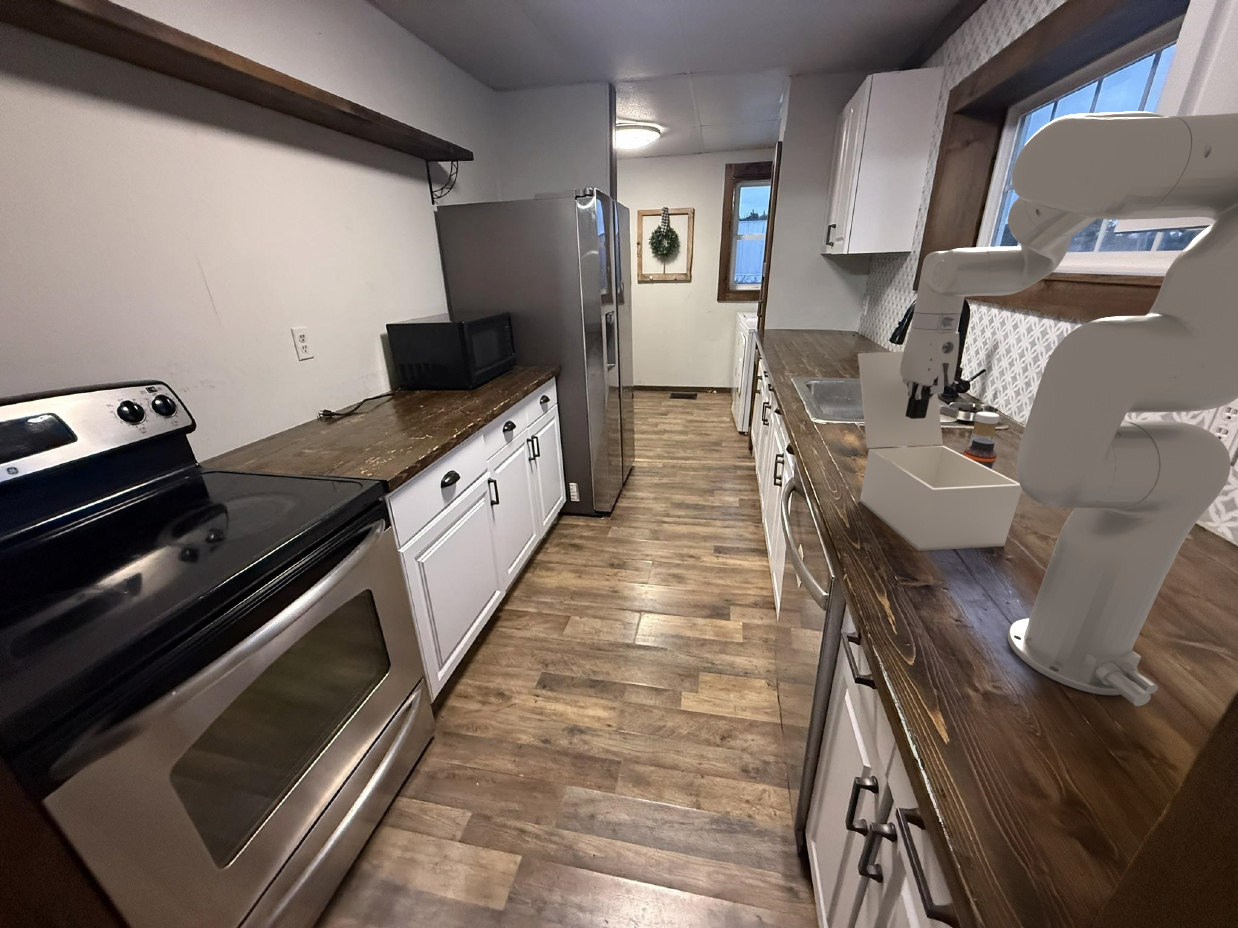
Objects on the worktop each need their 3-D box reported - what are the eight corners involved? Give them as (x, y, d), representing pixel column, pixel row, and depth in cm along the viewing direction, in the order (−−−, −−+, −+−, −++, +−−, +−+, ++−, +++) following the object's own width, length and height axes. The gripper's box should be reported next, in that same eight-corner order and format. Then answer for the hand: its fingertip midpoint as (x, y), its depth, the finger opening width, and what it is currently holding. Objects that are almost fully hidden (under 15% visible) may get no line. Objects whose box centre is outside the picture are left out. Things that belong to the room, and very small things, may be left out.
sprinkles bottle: (988, 466, 122) (1003, 414, 117) (980, 470, 120) (994, 417, 115) (968, 460, 126) (981, 409, 121) (959, 464, 123) (973, 413, 118)
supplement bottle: (956, 490, 110) (968, 442, 106) (953, 480, 115) (965, 434, 111) (988, 495, 107) (1002, 446, 103) (984, 484, 112) (998, 437, 108)
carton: (1004, 546, 88) (1023, 485, 84) (918, 550, 87) (932, 489, 83) (931, 497, 107) (943, 445, 102) (859, 501, 106) (869, 449, 101)
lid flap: (932, 350, 104) (930, 352, 105) (859, 353, 103) (857, 354, 104) (942, 444, 103) (940, 444, 103) (868, 447, 102) (866, 448, 102)
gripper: (984, 326, 85) (959, 427, 92) (928, 318, 99) (910, 407, 106) (942, 327, 85) (921, 429, 92) (892, 319, 99) (876, 408, 105)
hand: (915, 417), depth 99 cm, fingers closed
